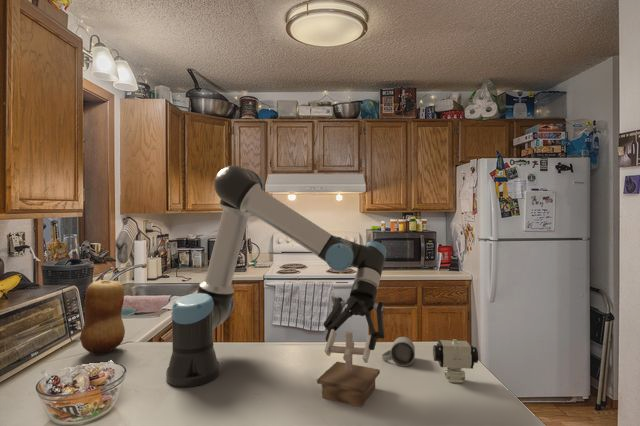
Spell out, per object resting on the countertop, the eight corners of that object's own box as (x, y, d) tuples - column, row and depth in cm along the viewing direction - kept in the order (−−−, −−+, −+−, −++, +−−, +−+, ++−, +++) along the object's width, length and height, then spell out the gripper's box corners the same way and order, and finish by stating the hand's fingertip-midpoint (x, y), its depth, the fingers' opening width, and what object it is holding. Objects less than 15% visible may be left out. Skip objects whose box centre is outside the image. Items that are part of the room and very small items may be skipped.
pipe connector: (366, 378, 96) (366, 339, 96) (327, 375, 98) (327, 337, 98) (368, 363, 106) (368, 327, 106) (333, 360, 108) (333, 325, 108)
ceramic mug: (414, 357, 126) (414, 334, 126) (415, 367, 118) (414, 343, 118) (382, 355, 128) (382, 332, 128) (381, 364, 121) (380, 340, 120)
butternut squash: (123, 356, 127) (122, 283, 127) (76, 363, 122) (75, 286, 122) (126, 343, 140) (126, 276, 140) (84, 348, 135) (84, 279, 135)
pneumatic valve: (432, 376, 112) (432, 335, 112) (473, 378, 110) (473, 337, 110) (436, 384, 106) (436, 342, 106) (479, 387, 105) (479, 344, 105)
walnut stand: (317, 398, 99) (317, 379, 99) (336, 378, 111) (336, 361, 111) (364, 409, 93) (364, 389, 93) (379, 387, 105) (379, 369, 105)
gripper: (404, 297, 111) (390, 371, 97) (334, 290, 121) (312, 356, 107) (400, 282, 106) (384, 358, 92) (327, 276, 116) (303, 343, 102)
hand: (345, 357), depth 100 cm, fingers closed on pipe connector, 10 cm apart
